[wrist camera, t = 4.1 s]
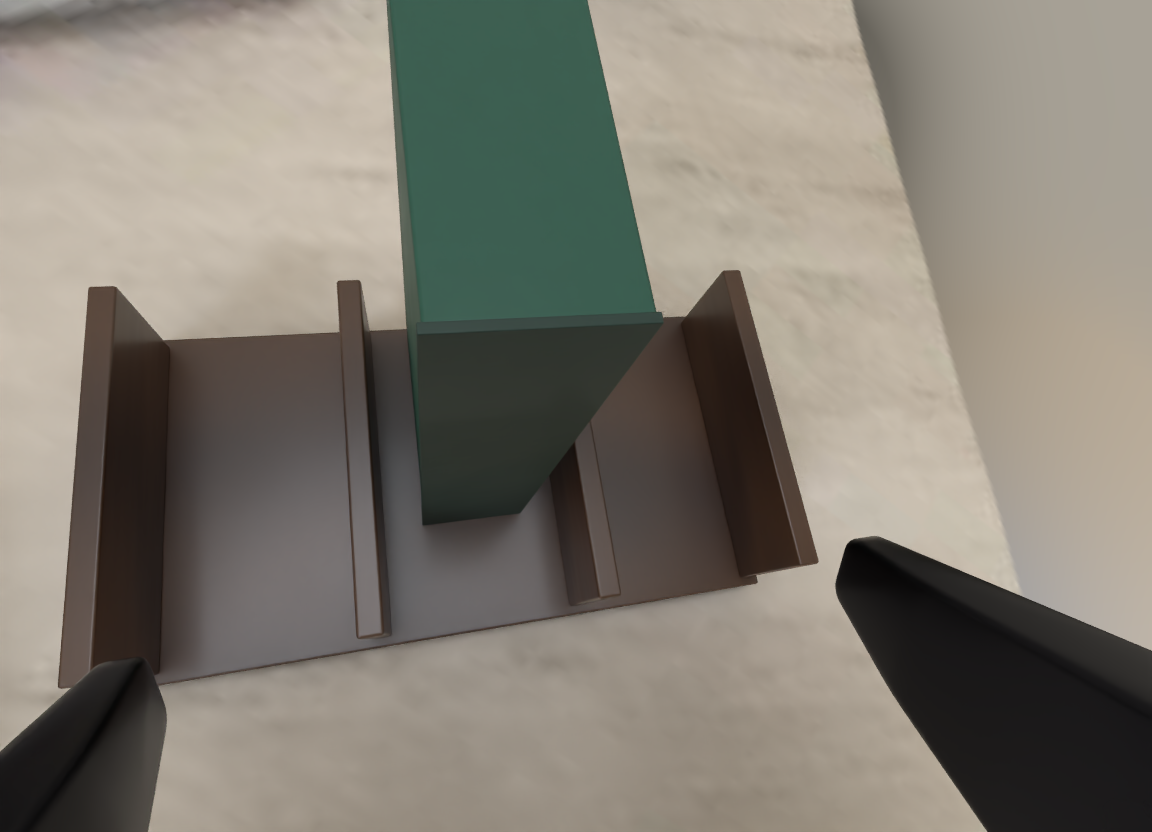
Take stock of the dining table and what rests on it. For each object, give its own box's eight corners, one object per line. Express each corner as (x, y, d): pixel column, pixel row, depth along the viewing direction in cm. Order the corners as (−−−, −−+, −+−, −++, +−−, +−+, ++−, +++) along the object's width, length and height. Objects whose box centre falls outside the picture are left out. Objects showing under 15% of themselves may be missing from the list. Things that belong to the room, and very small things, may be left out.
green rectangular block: (520, 513, 19) (664, 322, 8) (422, 525, 18) (417, 334, 7) (495, 329, 21) (581, -50, 9) (405, 333, 20) (377, -73, 9)
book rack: (746, 585, 21) (822, 572, 17) (145, 687, 16) (54, 703, 12) (685, 325, 24) (738, 262, 20) (157, 351, 19) (88, 276, 15)
